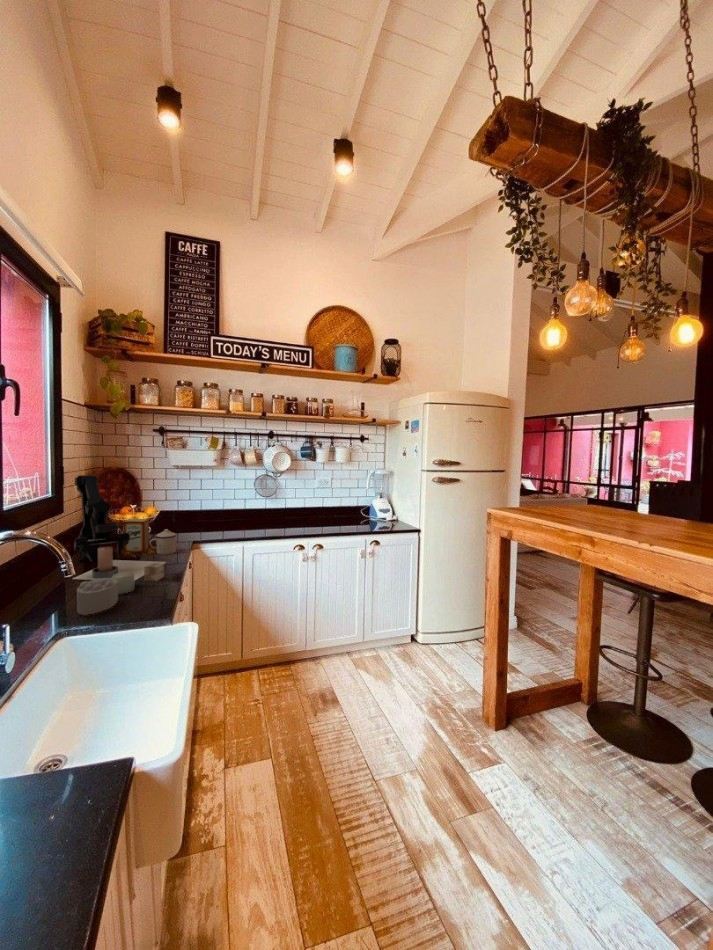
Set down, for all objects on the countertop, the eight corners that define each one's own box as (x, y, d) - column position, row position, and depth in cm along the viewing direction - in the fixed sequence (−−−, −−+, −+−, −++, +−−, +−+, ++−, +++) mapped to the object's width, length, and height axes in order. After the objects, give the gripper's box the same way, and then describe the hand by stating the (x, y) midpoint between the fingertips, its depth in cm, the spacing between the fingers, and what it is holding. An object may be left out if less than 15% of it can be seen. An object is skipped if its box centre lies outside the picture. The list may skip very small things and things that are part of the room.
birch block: (144, 584, 155) (144, 566, 154) (151, 580, 160) (151, 562, 159) (157, 584, 155) (157, 567, 154) (163, 580, 160) (163, 563, 159)
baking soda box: (148, 549, 205) (148, 518, 204) (144, 552, 198) (144, 520, 197) (128, 549, 203) (128, 518, 202) (123, 552, 197) (123, 520, 196)
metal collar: (87, 578, 155) (87, 572, 155) (102, 571, 163) (102, 565, 163) (109, 579, 155) (109, 572, 154) (122, 572, 163) (122, 566, 163)
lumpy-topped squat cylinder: (121, 599, 140) (121, 574, 139) (105, 614, 127) (105, 588, 126) (88, 600, 138) (88, 575, 137) (68, 616, 125) (68, 589, 124)
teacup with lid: (176, 549, 206) (176, 527, 205) (176, 554, 198) (176, 530, 197) (150, 551, 201) (150, 528, 200) (148, 556, 193) (148, 532, 192)
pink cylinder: (95, 575, 158) (94, 548, 157) (107, 572, 162) (107, 545, 162) (103, 578, 156) (103, 550, 155) (115, 574, 160) (115, 547, 160)
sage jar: (108, 593, 144) (107, 577, 144) (121, 587, 151) (121, 571, 151) (126, 594, 143) (125, 578, 143) (138, 588, 150) (138, 572, 150)
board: (71, 582, 154) (71, 578, 154) (114, 563, 180) (114, 559, 180) (133, 585, 153) (133, 581, 153) (166, 565, 179) (166, 561, 179)
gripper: (74, 517, 154) (79, 551, 147) (128, 513, 167) (136, 544, 160) (71, 534, 160) (76, 567, 153) (124, 528, 173) (131, 559, 166)
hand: (106, 559), depth 158 cm, fingers open, 9 cm apart
